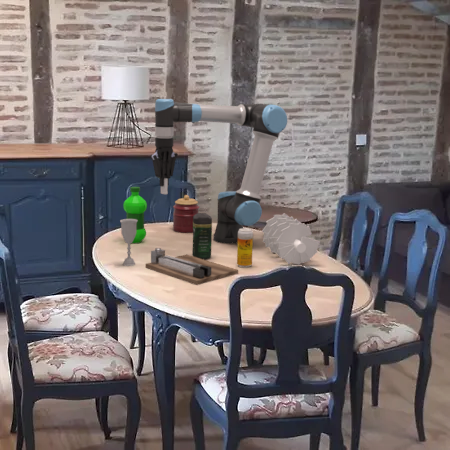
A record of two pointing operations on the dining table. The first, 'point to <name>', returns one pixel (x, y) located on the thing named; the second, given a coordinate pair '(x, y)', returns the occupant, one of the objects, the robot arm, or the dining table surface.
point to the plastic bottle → (136, 212)
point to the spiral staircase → (289, 239)
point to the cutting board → (216, 273)
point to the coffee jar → (202, 235)
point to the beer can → (244, 247)
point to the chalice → (128, 237)
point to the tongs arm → (191, 264)
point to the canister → (184, 214)
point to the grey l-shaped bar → (174, 264)
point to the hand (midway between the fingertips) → (164, 193)
